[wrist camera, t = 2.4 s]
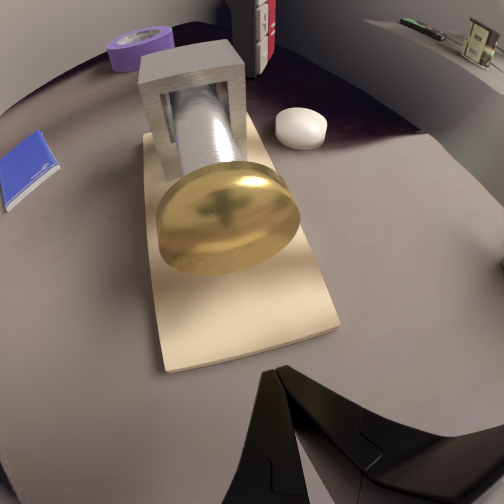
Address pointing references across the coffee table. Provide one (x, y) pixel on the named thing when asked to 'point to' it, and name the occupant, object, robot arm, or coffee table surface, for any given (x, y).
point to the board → (232, 291)
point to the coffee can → (479, 43)
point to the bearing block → (185, 76)
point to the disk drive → (423, 28)
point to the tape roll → (138, 47)
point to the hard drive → (25, 169)
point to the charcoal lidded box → (253, 32)
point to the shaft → (219, 195)
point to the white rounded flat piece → (300, 128)
